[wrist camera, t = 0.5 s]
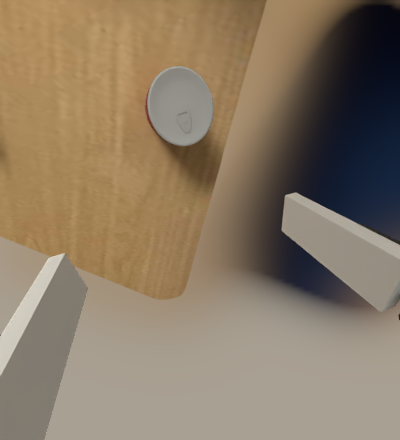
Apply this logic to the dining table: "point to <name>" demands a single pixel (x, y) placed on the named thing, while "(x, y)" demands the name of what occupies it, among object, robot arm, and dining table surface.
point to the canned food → (179, 106)
